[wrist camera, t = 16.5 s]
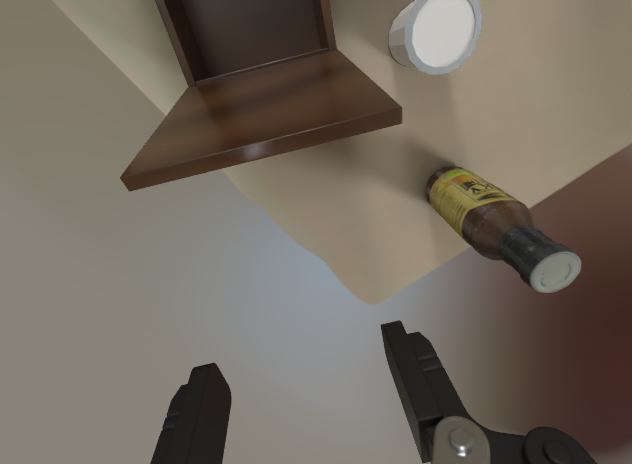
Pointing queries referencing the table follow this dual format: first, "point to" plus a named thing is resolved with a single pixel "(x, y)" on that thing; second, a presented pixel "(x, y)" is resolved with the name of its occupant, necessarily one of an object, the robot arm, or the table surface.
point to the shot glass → (435, 34)
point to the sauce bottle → (501, 228)
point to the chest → (244, 34)
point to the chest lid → (262, 118)
